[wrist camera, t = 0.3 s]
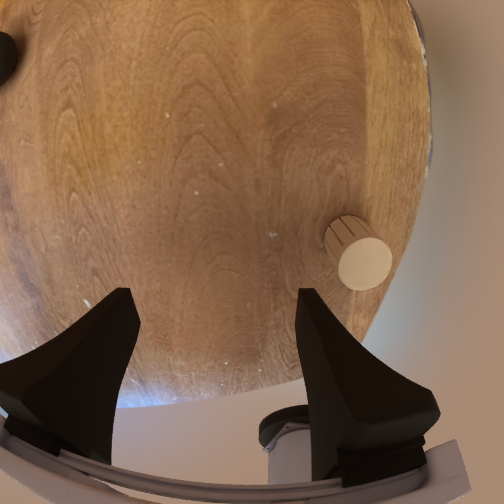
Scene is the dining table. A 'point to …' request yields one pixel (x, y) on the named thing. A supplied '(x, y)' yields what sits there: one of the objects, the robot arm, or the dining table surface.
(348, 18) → the dining table surface
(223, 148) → the dining table surface
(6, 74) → the matte black ball
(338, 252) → the fluted tan knob
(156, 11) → the dining table surface
